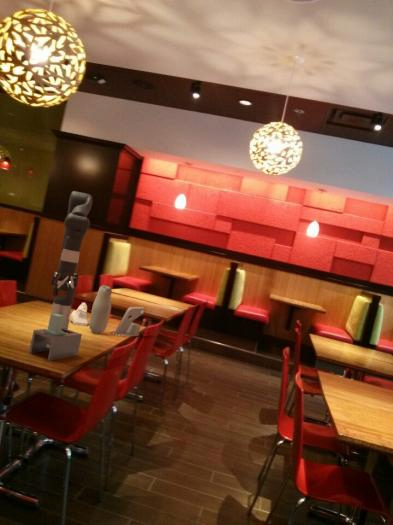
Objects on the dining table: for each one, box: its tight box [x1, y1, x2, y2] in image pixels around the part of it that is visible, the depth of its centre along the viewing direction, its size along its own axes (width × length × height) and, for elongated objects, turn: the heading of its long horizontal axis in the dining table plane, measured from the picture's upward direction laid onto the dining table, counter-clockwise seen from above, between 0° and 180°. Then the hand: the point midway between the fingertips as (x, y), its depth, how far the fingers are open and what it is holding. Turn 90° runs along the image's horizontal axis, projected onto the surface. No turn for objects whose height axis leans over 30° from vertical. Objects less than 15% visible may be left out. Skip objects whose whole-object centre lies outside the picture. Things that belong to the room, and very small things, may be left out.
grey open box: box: [28, 328, 83, 362], centre depth 197 cm, size 18×12×10 cm, turn 156°
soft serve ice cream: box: [69, 302, 90, 327], centre depth 271 cm, size 12×15×14 cm
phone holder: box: [110, 306, 146, 337], centre depth 270 cm, size 17×10×18 cm, turn 151°
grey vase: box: [88, 284, 112, 334], centre depth 256 cm, size 10×10×28 cm
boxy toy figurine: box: [43, 313, 64, 348], centre depth 195 cm, size 6×6×14 cm
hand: (61, 296), depth 194 cm, fingers open, 8 cm apart
